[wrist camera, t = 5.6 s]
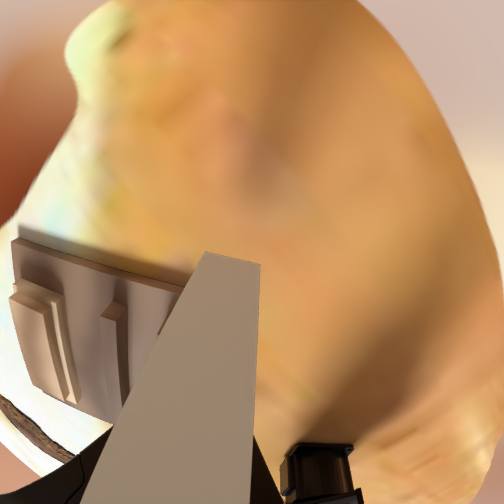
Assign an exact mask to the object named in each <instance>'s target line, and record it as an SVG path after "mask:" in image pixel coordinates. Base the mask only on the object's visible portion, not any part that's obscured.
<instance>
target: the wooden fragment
mask: <svg viewBox="0 0 504 504" xmlns="http://www.w3.org/2000/svg"><path fill="white" fill-rule="evenodd" d="M0 409H1V411H2V412H3V413H4V414H5V416H6V417H7V418H8V419H9V420H10V422H11V423H12V424H13V425H14V426H15V427H16V428H17V429H18V430H19V431H20V432H21V433H22V434H23V435H24V436H25V437H26V438H28V439H29V440H30V441H31V442H32V443H33V444H34V445H35V446H37V447H38V448H40V449H41V450H42V451H43V452H45V453H46V454H48V455H50V456H51V457H53V458H55V459H57V460H58V461H60V462H62V463H64V464H65V463H66V462H68V461H69V460H71V459H72V458H73V457H74V456H73V455H72V454H70V453H69V452H67V451H65V450H64V449H63V448H62V447H60V446H59V445H58V444H56V443H55V442H53V441H52V440H51V439H50V438H49V437H47V436H46V435H45V434H44V433H43V431H41V430H40V429H39V428H38V427H37V426H36V425H35V424H34V423H32V422H31V420H28V419H27V418H26V417H25V416H24V415H22V414H21V413H20V412H19V411H18V410H17V409H16V408H15V407H14V406H13V405H12V404H11V403H10V402H9V401H8V400H7V399H6V398H4V397H3V396H1V395H0Z"/></svg>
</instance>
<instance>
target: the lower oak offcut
mask: <svg viewBox="0 0 504 504" xmlns="http://www.w3.org/2000/svg"><path fill="white" fill-rule="evenodd" d="M13 288H14V293H16V292H17V291H18V292H20V293H22V294H24V295H26V296H28V297H31V298H33V299H35V300H37V301H39V302H42V303H44V304H46V305H49V306H51V307H52V312H53V319H54V325H55V331H56V337H57V342H58V347H59V352H60V356H61V361H62V365H63V369H64V373H65V377H66V381H67V385H68V388H69V392H70V394H69V395H68V397H67V399H66V400H68V401H70V402H72V403H74V404H76V405H77V404H78V402H79V400H80V399H81V397H82V396H81V392H80V388H79V384H78V379H77V375H76V370H75V365H74V360H73V355H72V349H71V343H70V337H69V331H68V323H67V316H66V307H65V297H64V295H61V294H58V293H56V292H53V291H51V290H48V289H46V288H44V287H41V286H39V285H36V284H34V283H32V282H29V281H27V280H25V279H22V278H21V279H19V280H18V281H16V282H15V283H14V284H13Z"/></svg>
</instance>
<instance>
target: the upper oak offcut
mask: <svg viewBox="0 0 504 504" xmlns="http://www.w3.org/2000/svg"><path fill="white" fill-rule="evenodd" d="M9 303H10V308H11V312H12V317H13V321H14V325H15V329H16V333H17V337H18V341H19V344H20V348H21V351H22V354H23V358H24V361H25V364H26V367H27V370H28V373H29V376H30V379H31V381H32V384H33V385H34V386H36V387H38V388H39V389H41V390H43V391H45V392H47V393H49V394H50V395H52V396H54V397H56V398H58V399H60V400H62V401H64V402H65V400H66V399H67V397H68V395H69V394H70V392H69V388H68V385H67V381H66V377H65V373H64V369H63V365H62V361H61V356H60V352H59V347H58V342H57V337H56V331H55V325H54V319H53V312H52V307H51V306H49V305H46V304H44V303H42V302H39V301H37V300H35V299H33V298H31V297H28V296H26V295H24V294H22V293H20V292H18V291H17V292H16V293H14V294H13V295H12V296H10V297H9Z"/></svg>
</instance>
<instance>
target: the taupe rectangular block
mask: <svg viewBox="0 0 504 504" xmlns="http://www.w3.org/2000/svg"><path fill="white" fill-rule="evenodd" d="M260 265H261V264H257V263H253V262H248V261H244V260H240V259H236V258H231V257H227V256H223V255H218V254H214V253H210V252H206V251H205V252H204V254H203V256H202V258H201V259H200V261H199V263H198V265H197V266H196V268H195V270H194V272H193V274H192V275H191V277H190V279H189V281H188V283H187V284H186V286H185V288H184V290H183V292H182V294H181V295H180V297H179V299H178V301H177V303H176V305H175V306H174V308H173V310H172V312H171V314H170V316H169V318H168V319H167V321H166V323H165V325H164V327H163V329H162V331H161V333H160V335H159V337H158V338H157V340H156V342H155V344H154V346H153V348H152V350H151V352H150V354H149V356H148V358H147V360H146V362H145V364H144V366H143V368H142V370H141V372H140V374H139V376H138V378H137V380H136V382H135V384H134V386H133V388H132V390H131V392H130V394H129V396H128V398H127V400H126V402H125V404H124V406H123V408H122V410H121V412H120V414H119V417H118V419H117V421H116V423H115V425H114V427H113V429H112V431H111V434H110V436H109V438H108V440H107V442H106V444H105V447H104V449H103V451H102V453H101V456H100V458H99V460H98V462H97V465H96V467H95V469H94V471H93V474H92V476H91V478H90V481H89V483H88V485H87V488H86V490H85V493H84V495H83V497H82V500H81V502H80V504H249V503H250V485H251V467H252V448H253V428H254V408H255V387H256V365H257V341H258V317H259V292H260Z"/></svg>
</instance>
